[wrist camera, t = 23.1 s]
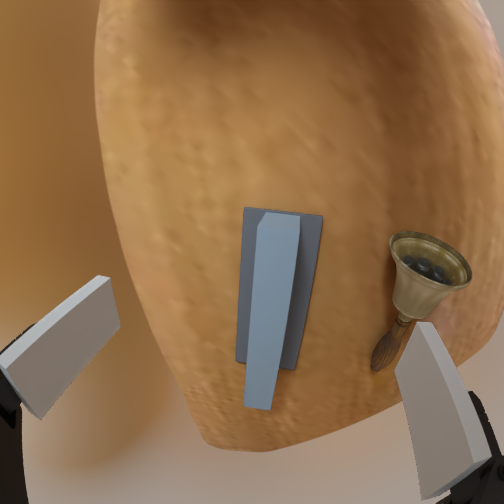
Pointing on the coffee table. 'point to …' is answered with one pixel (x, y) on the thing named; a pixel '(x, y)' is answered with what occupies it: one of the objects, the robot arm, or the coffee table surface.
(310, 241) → the mat
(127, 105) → the coffee table surface
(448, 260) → the hand bell
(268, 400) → the stick
